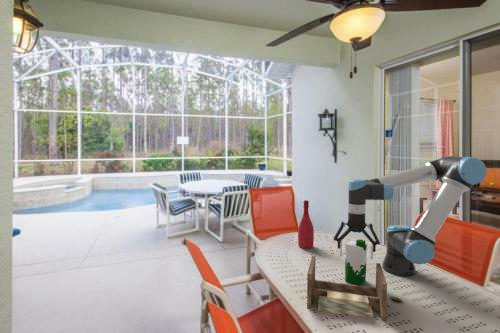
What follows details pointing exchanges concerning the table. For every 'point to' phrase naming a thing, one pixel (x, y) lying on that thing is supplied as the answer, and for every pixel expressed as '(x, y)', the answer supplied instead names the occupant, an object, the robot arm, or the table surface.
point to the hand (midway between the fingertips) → (355, 256)
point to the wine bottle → (305, 229)
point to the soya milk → (355, 262)
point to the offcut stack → (345, 304)
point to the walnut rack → (349, 289)
